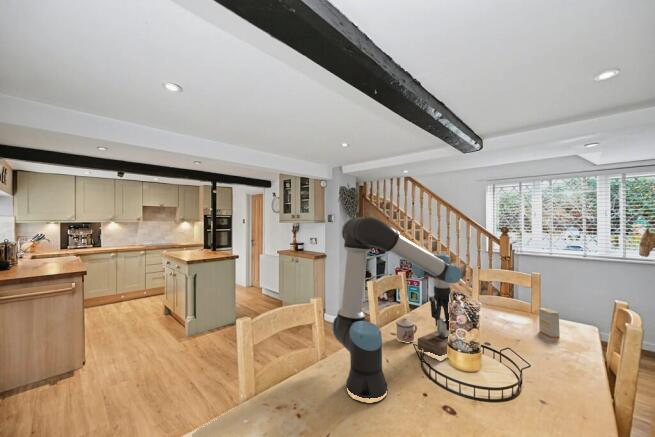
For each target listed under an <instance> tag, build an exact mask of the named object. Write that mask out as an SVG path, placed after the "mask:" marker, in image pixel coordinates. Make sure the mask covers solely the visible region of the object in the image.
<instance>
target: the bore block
mask: <svg viewBox="0 0 655 437" xmlns="http://www.w3.org/2000/svg"><path fill="white" fill-rule="evenodd" d="M447 340H448V337H447V339H446V340H444V339H441V338H439V334H437V330H435V331H433V332H431V333H428V334H426V335H423V336H420V337H418V338H417V350H418V349H419V350H421V348H423V347H424V352H430V353H433V354H435V355H438V356H442V355H445V354H447Z"/></svg>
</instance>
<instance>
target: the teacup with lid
mask: <svg viewBox="0 0 655 437" xmlns="http://www.w3.org/2000/svg"><path fill="white" fill-rule="evenodd" d="M395 324H396V339H397V338H398V339H399V340H401V341H405V342H411V341H413V340H414V341H415V334H416V333H417V331H418V327H417V325H416V324H415V323H414V322H413V321H411V320H409V319H408V318H407V317H406V316H404V317H403V318H402V319H401V318H400V319H398V320H397V321H396V323H395Z"/></svg>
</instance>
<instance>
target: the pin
mask: <svg viewBox="0 0 655 437" xmlns="http://www.w3.org/2000/svg"><path fill="white" fill-rule="evenodd" d="M445 322H446V321H445V318H442V317H440V319H439V338H441V339H444V340H446V339H447V337H444V323H445Z"/></svg>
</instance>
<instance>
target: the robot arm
mask: <svg viewBox="0 0 655 437" xmlns="http://www.w3.org/2000/svg"><path fill="white" fill-rule="evenodd" d="M341 237H342V239H343V240H344V244H343V248H344V249H345V251H346V261H345V272H344V284H343V289H342V292H343V293H342V302H341V307H340V308H339V310H338V311H337V315H336V317H335V318H334V319H333V322H332V327H331V328H332V333H333V335H334V337H335V339H336V340H337V341H338V342H339V343H340V344H341V345H342V346H343V347H344V348H345V349H346V350H347V352H349V354H350V356H349V357H350V359H349V360H350V368H349V372H348V377H347V379H346V382H345V387H346V386H347V388H348V390H349V391H350V392H351V393H353V394H354V395H357V396H359V397H362V398H369V399H370V398H378V397H381V396H383V395H384V394H385V393H386V391H387V392H388V383H387V380H386V377H385V374H384V371H383V338H382V331H381V329H380V327H379V326H378V325H377V324H375V323H373V322H369V321H366V314H365V312H364V311H363V303H364V291H365V281H366V273H367V272H366V271H367V260H368V253H370V252H371V251H372V248H376V249H380V250H382V251H383V252H386V253H389V252H390V253H392V254H394V255H395V256H398V257H399V258H401V259H403V260H405V261H406V262H409V263H410V264H412V265H411V271H412V273H413V275H414V276H415V277H419V278H420V277H421V278H423V277H427V278H431V279H433V294H434V295H433V296H430V297H428V299H429V302H430V311H431V312H430V314H431V317H432V318H433V319H434V321H435V326H436V331H437V334H439V319H440V318H441V314H442V309H443V315H444V319H445V321H446V322H445V323H444V337H448V336H449V335H450V330H449V321H448V320H449V313H450V312H449V313H448V302H449V294H450V293H451V292H452V291H451V284H458V283H459V282H460V281H461V278H462V277H463V276H462V275H463V273H462V270H461V268H460V267H459V266H457V265H454V264H451V259H450V258H451V257H450V256H449V254H443V253H438V254H437V253H436V254H432V253H431V252H430V251H428V250H426V249H424V248H423V247H420V246H419V245H417V244H416V243H414V242H412V241H411V240H410V239H407V237H404V236H402V235H400V231H399V230H397V229H396V228H394V227H392V226H391V225H390V224H388V223H386V222H384V221H383V220H381V219H378V218H376V217H372V216H356V217H352V218H349V219H348V220H346V221H345V222H344V223H343V225H342V228H341Z"/></svg>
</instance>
